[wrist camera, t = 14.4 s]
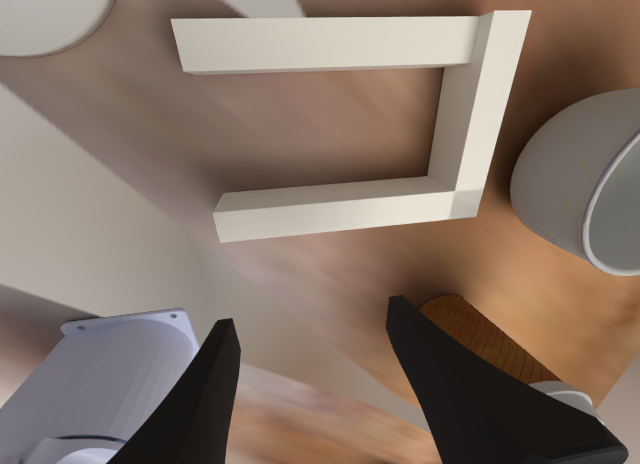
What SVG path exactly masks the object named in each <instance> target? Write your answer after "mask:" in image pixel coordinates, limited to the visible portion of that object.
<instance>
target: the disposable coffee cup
mask: <svg viewBox="0 0 640 464" xmlns="http://www.w3.org/2000/svg"><path fill="white" fill-rule="evenodd" d="M418 310H419V311H420V312H422V313H423V314H424V315H425V316H426V317H427V318H429V319H430V320H431V321H432V322H433V323H435V324H436V325H437V326H438V327H440V328H441V329H442V330H443V331H445V332H446V333H447V334H448V335H450V336H451V337H452V338H454V339H455V340H457V341H458V342H459V343H461V344H462V345H463V346H465V347H466V348H468V349H469V350H471V351H472V352H474V353H475V354H477V355H478V356H480V357H481V358H483V359H484V360H486V361H487V362H489V363H491V364H492V365H494V366H495V367H497V368H499V369H500V370H502V371H504V372H506V373H507V374H509V375H511V376H513V377H514V378H516V379H518V380H520V381H522V382H523V383H525V384H527V385H529V386H531V387H533V388H535V389H537V390H539V391H541V392H543V393H545V394H547V395H549V396H551V397H553V398H555V399H557V400H559V401H561V402H563V403H566V404H568V405H570V406H572V407H575V408H577V409H579V410H581V411H583V412H586V413H588V414H590V415H592V416H594V417H596V418H597V419H598V420H599V421H600V422H601V423H602V424H603V425H604V426H605V424H604V422H603V421H602V419H601V418H600V417H599V415H598V414H597V412H596V411H595V410H594V408H593V407H592V401H591V399H590V398H589V396H588V395H587V394H585V393H584V392H582V391H580V390H578V389H575V388H574V387H573V386H572V385H570V384H568V383H566V382H563V381H562V380H560V379H559V378H558V377H557V376H555V375H554V374H553V373H552V372H551V371H550V370H548V369H547V368H546V367H545V366H544V365H542V364H541V363H540V362H539V361H537V360H536V359H535V358H534V357H533V356H531V355H530V354H529V353H528V352H527V351H526V350H524V349H523V348H522V347H521V346H520V345H518V344H517V343H516V342H515V341H514V340H512V339H511V338H510V337H509V336H508V335H506V334H505V333H504V332H503V331H501V329H500V328H498V327H497V326H496V325H495V324H494V323H492V322H491V321H490V320H488V319H487V318H486V317H485V316H484V315H483V314H481V313H480V312H479V311H478V310H477V309H475V308H474V307H473V306H472V305H470V304H469V303H468V302H467V301H466V300H465V299H464V298H462V297H460V296H457V295H443V296H439V297H436V298H434V299H432V300H430V301H428V302H427V303H425V304H424V305H423V306H421V307H420V308H419V309H418Z"/></svg>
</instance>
